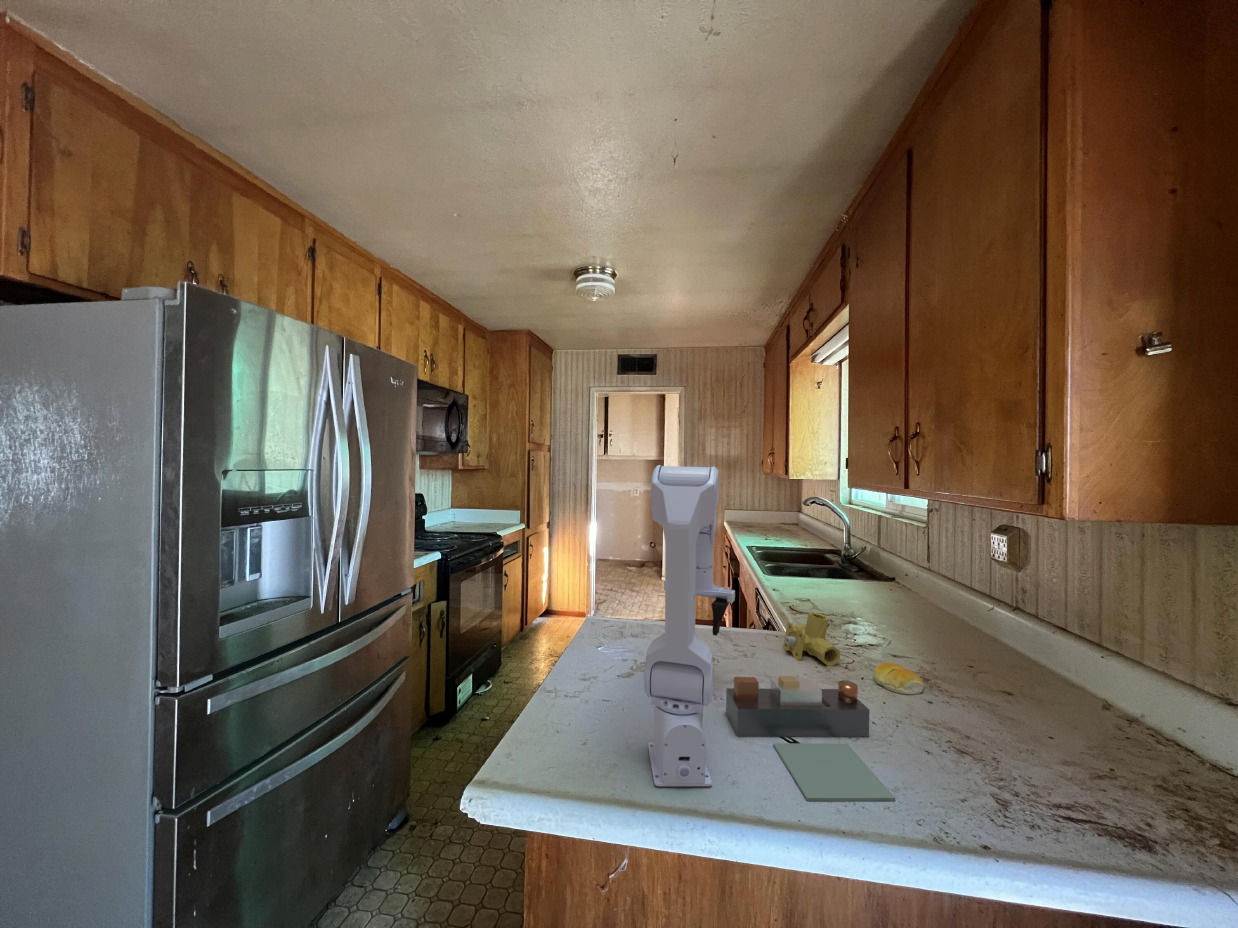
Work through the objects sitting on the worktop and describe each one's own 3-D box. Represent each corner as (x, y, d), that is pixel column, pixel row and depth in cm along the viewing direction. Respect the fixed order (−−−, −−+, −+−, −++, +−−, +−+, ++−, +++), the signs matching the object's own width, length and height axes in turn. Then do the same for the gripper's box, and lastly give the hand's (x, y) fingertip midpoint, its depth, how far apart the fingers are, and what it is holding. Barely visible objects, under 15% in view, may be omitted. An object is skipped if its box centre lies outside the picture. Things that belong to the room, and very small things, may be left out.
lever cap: (821, 705, 77) (822, 685, 77) (780, 705, 77) (780, 684, 77) (809, 691, 82) (809, 672, 82) (770, 691, 82) (770, 672, 82)
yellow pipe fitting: (807, 647, 117) (771, 643, 115) (814, 607, 116) (779, 603, 114) (839, 672, 104) (800, 669, 102) (848, 628, 104) (808, 623, 102)
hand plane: (868, 736, 76) (870, 690, 76) (737, 736, 75) (738, 689, 75) (846, 713, 83) (847, 671, 83) (725, 713, 82) (726, 670, 82)
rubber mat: (895, 800, 62) (895, 797, 62) (806, 800, 61) (806, 797, 61) (847, 745, 74) (847, 743, 74) (773, 745, 73) (773, 743, 73)
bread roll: (895, 674, 101) (895, 655, 101) (931, 694, 92) (931, 674, 92) (862, 677, 99) (863, 658, 99) (896, 697, 90) (897, 677, 90)
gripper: (739, 564, 94) (737, 629, 95) (673, 555, 101) (672, 615, 102) (729, 574, 88) (728, 643, 89) (660, 563, 95) (659, 627, 96)
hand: (697, 629), depth 95 cm, fingers open, 7 cm apart
